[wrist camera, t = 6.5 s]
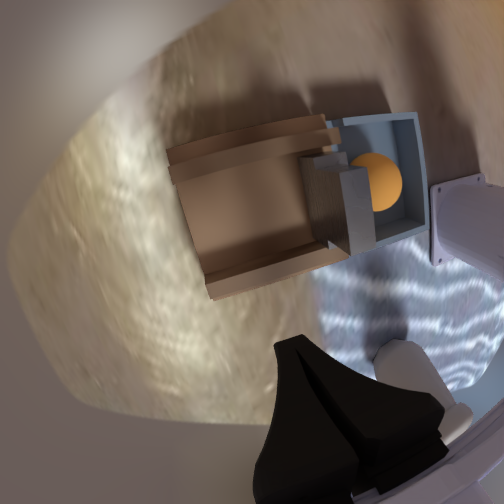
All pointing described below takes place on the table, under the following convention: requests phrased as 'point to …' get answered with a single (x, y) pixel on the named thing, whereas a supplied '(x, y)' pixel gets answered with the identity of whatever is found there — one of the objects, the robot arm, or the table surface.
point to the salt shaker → (421, 382)
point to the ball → (381, 179)
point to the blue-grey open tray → (406, 159)
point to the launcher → (252, 203)
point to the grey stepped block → (338, 202)
